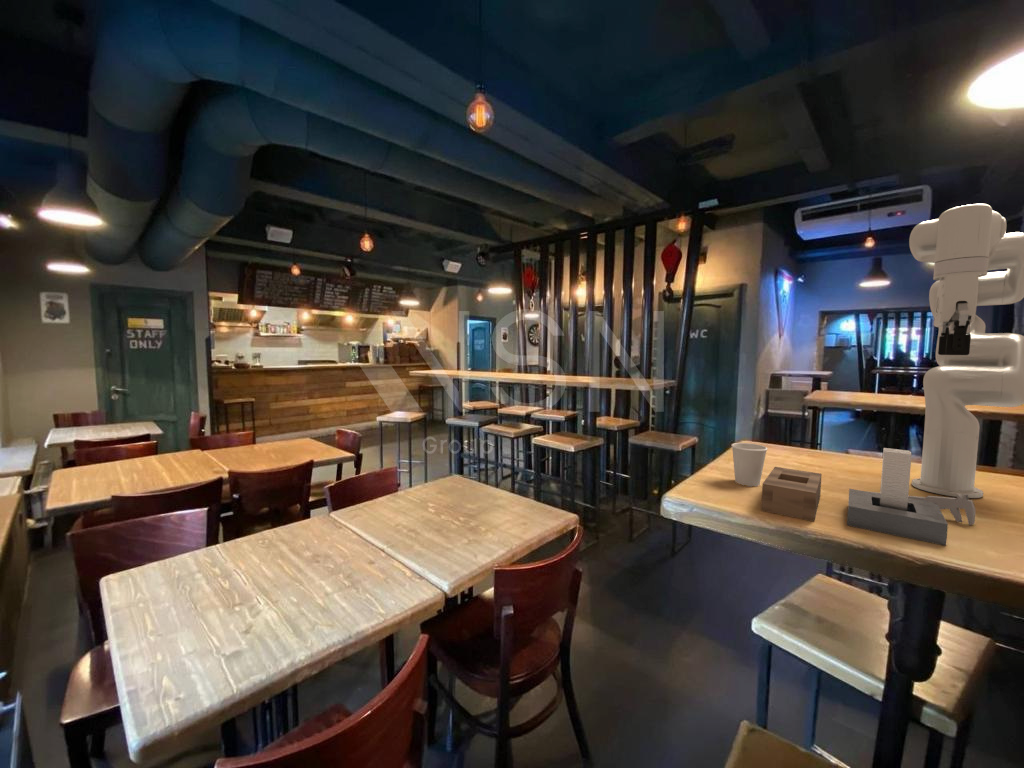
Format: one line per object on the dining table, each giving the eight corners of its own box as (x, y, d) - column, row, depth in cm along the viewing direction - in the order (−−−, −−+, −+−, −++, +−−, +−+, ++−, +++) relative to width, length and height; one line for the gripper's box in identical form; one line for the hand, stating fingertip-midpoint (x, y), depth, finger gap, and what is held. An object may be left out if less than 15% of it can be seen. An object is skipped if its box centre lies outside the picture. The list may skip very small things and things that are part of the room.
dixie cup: (736, 487, 108) (738, 449, 108) (725, 477, 117) (726, 442, 116) (771, 489, 107) (773, 450, 106) (757, 479, 115) (759, 443, 115)
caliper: (974, 526, 85) (977, 496, 85) (972, 527, 85) (974, 496, 84) (857, 495, 104) (859, 470, 103) (855, 495, 103) (857, 470, 103)
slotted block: (773, 489, 106) (774, 466, 106) (820, 498, 100) (821, 473, 100) (761, 510, 92) (762, 483, 92) (814, 521, 86) (815, 493, 86)
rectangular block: (878, 513, 88) (883, 447, 87) (904, 518, 86) (910, 450, 85) (879, 519, 85) (884, 451, 84) (905, 524, 83) (911, 454, 82)
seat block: (848, 505, 96) (849, 488, 95) (934, 521, 87) (936, 502, 86) (846, 525, 85) (848, 505, 84) (946, 545, 76) (947, 524, 76)
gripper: (928, 278, 94) (922, 354, 96) (940, 265, 81) (932, 355, 82) (977, 274, 90) (970, 355, 91) (998, 260, 76) (990, 355, 78)
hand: (952, 354), depth 87 cm, fingers open, 9 cm apart
